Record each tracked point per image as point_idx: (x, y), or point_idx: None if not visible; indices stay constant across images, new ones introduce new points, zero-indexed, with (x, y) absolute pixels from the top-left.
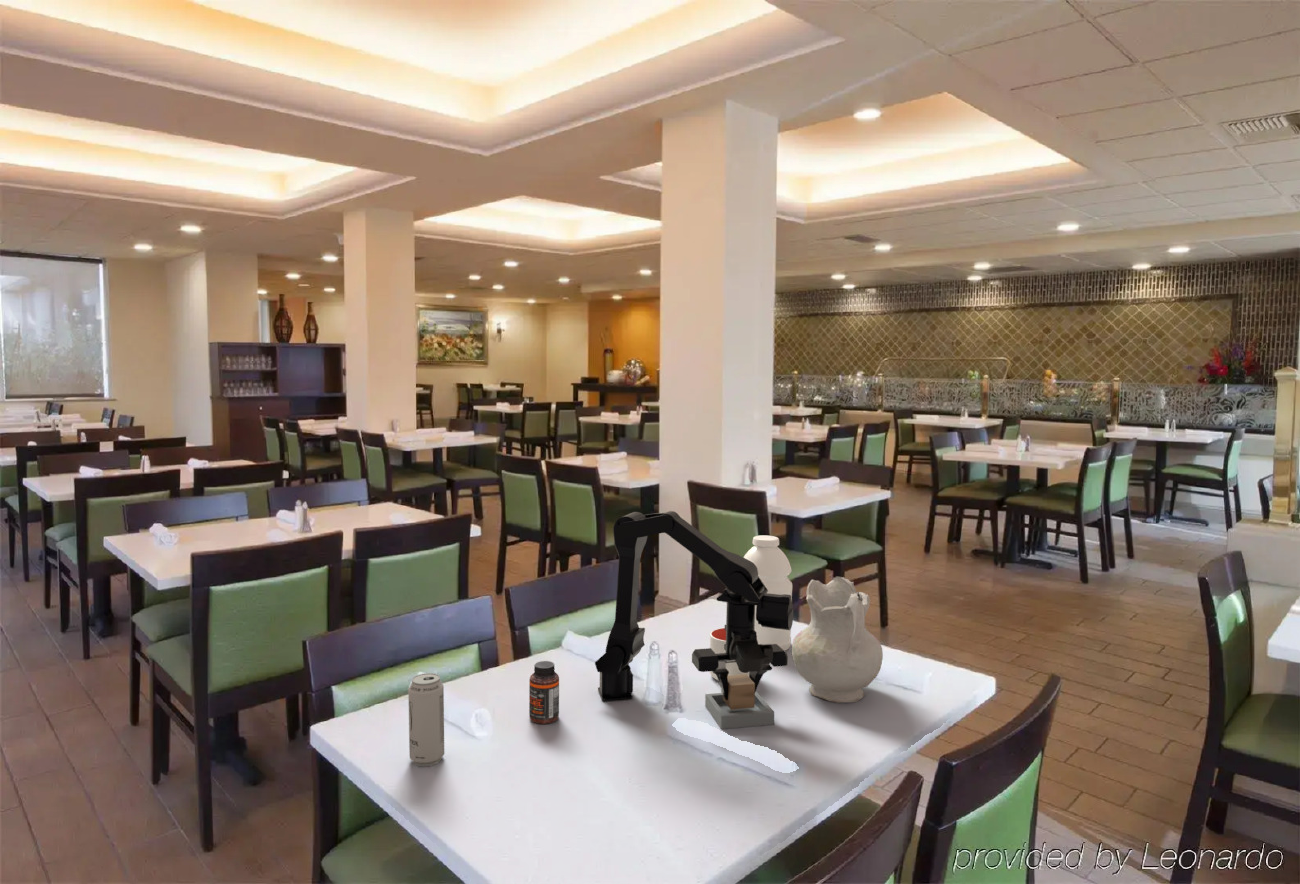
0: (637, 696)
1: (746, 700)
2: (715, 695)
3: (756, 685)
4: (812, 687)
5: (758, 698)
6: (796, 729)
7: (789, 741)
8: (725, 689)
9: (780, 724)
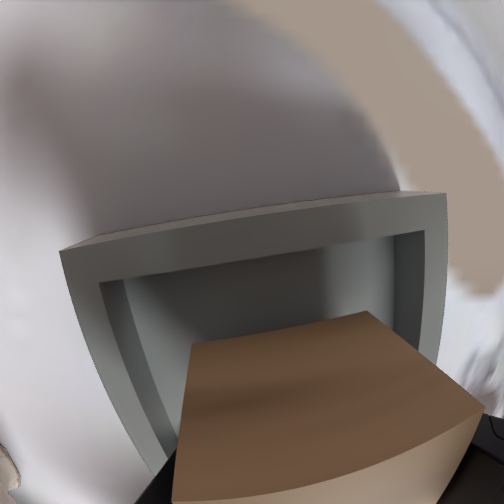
0: (500, 416)
1: (262, 366)
2: None
3: (155, 495)
4: (4, 469)
5: (154, 441)
6: (12, 177)
7: (78, 45)
8: None
9: (65, 235)
